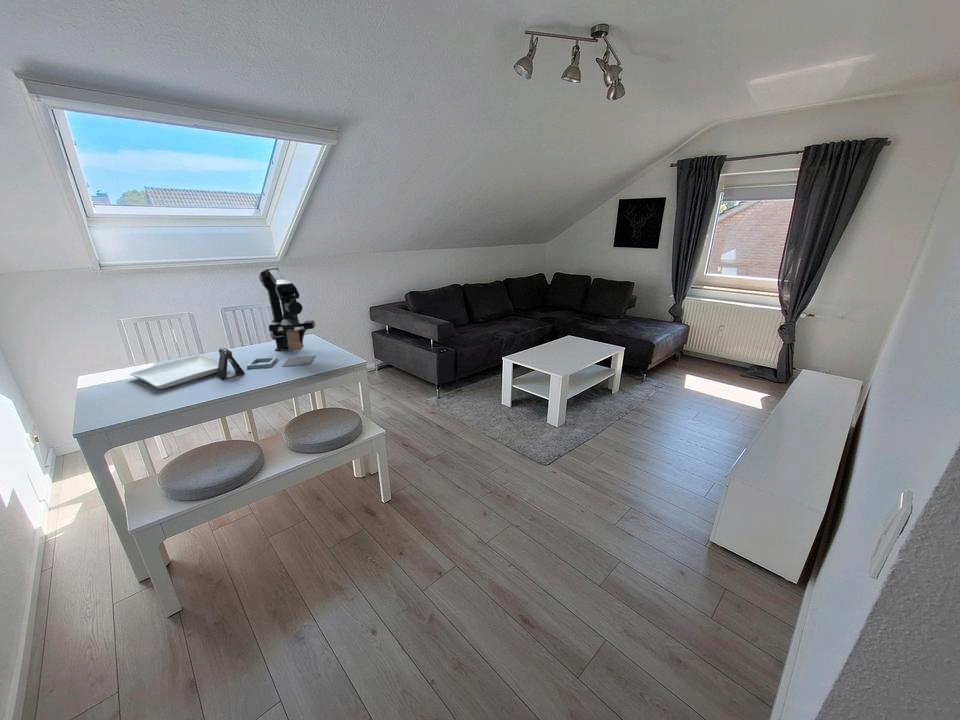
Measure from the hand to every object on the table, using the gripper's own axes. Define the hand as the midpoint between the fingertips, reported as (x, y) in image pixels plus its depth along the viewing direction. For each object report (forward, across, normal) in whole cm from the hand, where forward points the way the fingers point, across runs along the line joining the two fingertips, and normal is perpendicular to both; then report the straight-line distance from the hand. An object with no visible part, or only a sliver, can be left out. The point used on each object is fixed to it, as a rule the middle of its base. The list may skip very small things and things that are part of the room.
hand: (295, 343), depth 174 cm
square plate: (+10, -46, -7) cm, 47 cm away
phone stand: (+9, -25, -12) cm, 29 cm away
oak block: (+2, 0, 0) cm, 3 cm away
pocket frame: (+9, -16, 0) cm, 18 cm away
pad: (+9, 0, 0) cm, 9 cm away
